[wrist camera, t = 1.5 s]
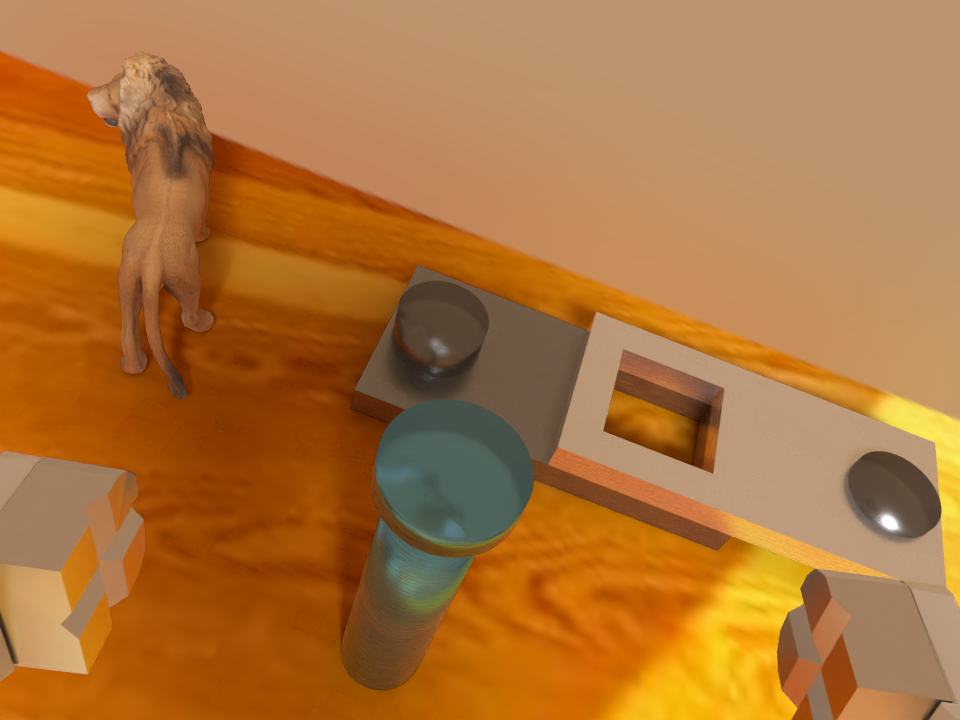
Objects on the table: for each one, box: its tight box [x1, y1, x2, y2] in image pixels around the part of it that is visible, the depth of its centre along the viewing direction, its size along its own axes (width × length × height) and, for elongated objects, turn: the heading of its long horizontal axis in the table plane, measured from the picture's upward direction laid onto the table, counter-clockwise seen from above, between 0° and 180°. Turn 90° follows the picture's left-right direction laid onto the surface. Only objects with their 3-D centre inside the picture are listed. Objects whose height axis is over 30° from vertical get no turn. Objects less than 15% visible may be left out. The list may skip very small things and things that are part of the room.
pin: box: [341, 399, 534, 690], centre depth 30 cm, size 4×4×14 cm
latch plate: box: [351, 265, 946, 587], centre depth 43 cm, size 28×9×4 cm, turn 73°
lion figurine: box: [87, 52, 215, 399], centre depth 40 cm, size 15×5×9 cm, turn 18°
